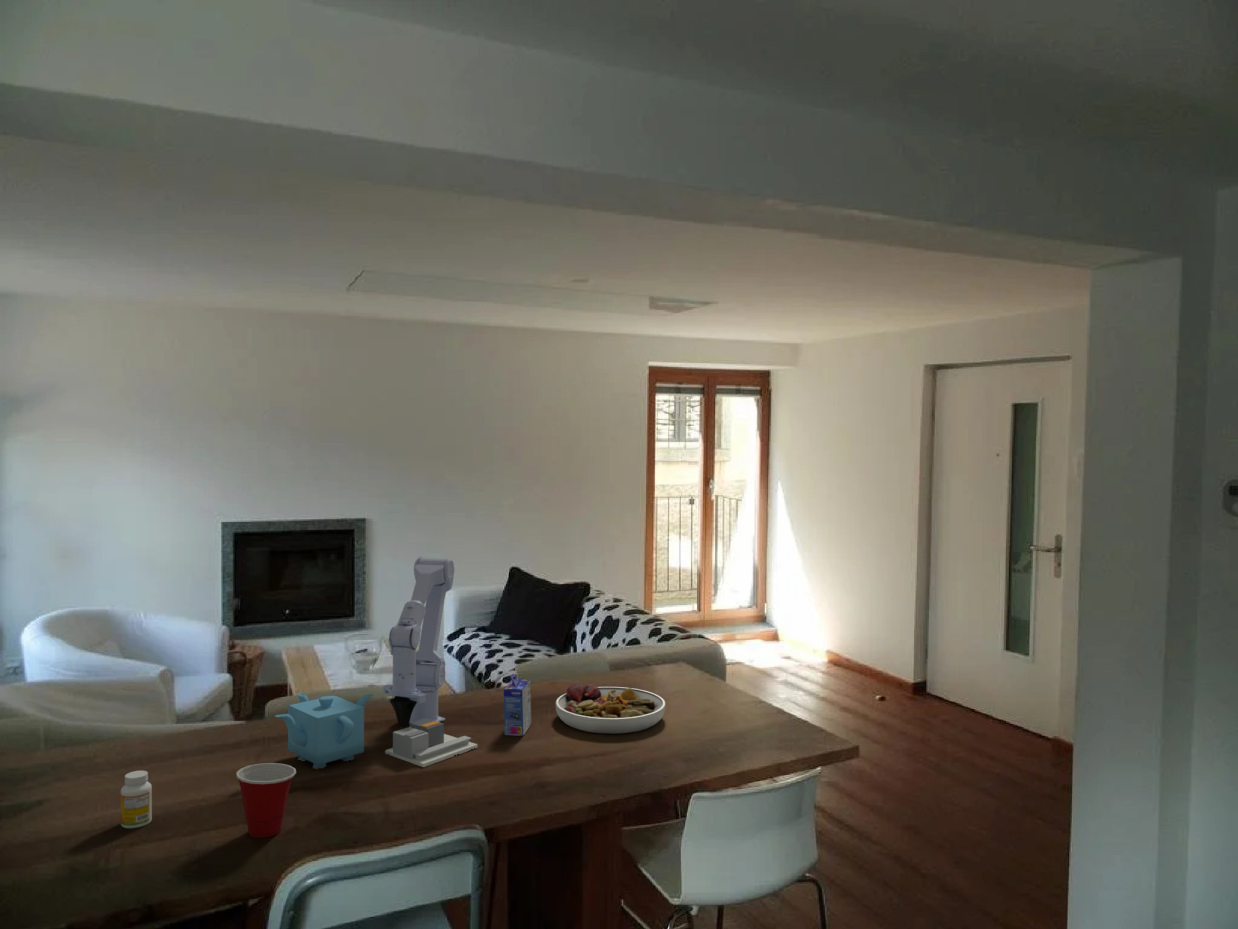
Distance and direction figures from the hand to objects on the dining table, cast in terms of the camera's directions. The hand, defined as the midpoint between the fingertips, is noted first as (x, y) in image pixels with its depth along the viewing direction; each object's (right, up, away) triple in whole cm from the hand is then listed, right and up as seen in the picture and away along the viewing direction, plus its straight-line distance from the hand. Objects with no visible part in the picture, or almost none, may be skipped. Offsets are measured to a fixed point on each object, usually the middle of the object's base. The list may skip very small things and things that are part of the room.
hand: (403, 726), depth 224 cm
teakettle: (-16, -4, -14) cm, 21 cm away
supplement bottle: (-40, -4, -50) cm, 65 cm away
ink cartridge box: (+28, -4, +8) cm, 29 cm away
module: (+7, -3, -5) cm, 9 cm away
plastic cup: (-14, -5, -53) cm, 55 cm away
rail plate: (+9, -4, -8) cm, 12 cm away
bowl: (+52, -4, +19) cm, 55 cm away
